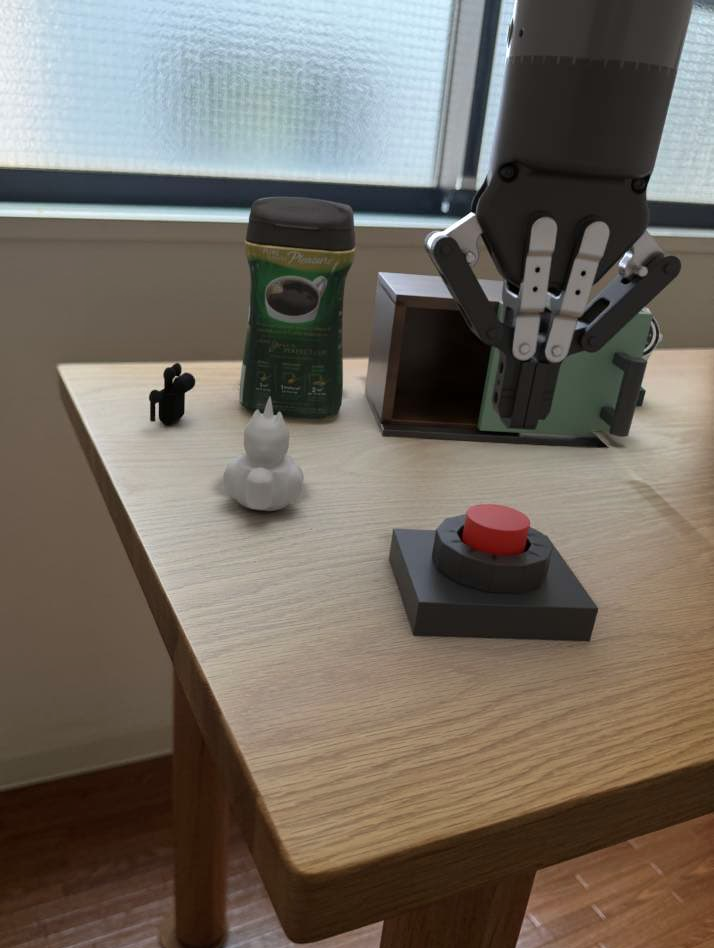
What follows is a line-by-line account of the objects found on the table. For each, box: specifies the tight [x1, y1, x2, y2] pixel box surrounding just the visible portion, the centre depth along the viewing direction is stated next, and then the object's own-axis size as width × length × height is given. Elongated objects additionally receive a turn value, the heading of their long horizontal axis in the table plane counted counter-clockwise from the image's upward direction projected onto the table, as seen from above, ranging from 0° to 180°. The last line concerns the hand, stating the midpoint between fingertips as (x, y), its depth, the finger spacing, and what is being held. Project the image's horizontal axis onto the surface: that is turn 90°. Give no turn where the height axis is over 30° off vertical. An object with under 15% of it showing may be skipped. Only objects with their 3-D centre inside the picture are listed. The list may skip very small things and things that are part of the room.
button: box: [462, 503, 531, 556], centre depth 49 cm, size 4×4×2 cm
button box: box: [388, 513, 599, 642], centre depth 50 cm, size 10×9×4 cm
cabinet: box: [364, 271, 610, 449], centre depth 79 cm, size 22×13×12 cm, turn 94°
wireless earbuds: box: [148, 362, 196, 426], centre depth 73 cm, size 7×2×5 cm, turn 162°
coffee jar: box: [238, 196, 357, 421], centre depth 76 cm, size 10×8×19 cm
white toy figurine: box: [223, 397, 305, 512], centre depth 58 cm, size 5×7×8 cm
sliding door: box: [477, 301, 654, 438], centre depth 73 cm, size 13×5×11 cm, turn 94°
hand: (517, 424), depth 46 cm, fingers closed
